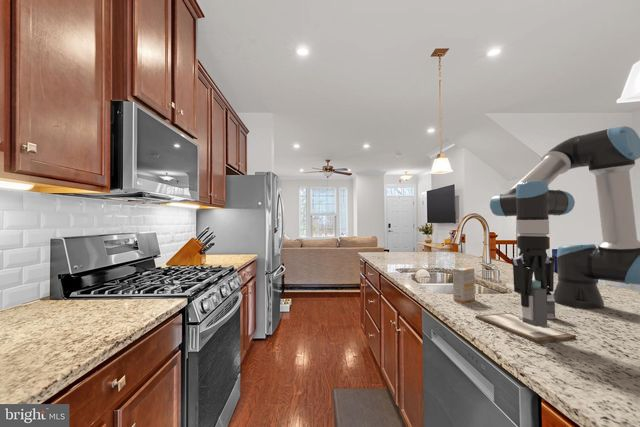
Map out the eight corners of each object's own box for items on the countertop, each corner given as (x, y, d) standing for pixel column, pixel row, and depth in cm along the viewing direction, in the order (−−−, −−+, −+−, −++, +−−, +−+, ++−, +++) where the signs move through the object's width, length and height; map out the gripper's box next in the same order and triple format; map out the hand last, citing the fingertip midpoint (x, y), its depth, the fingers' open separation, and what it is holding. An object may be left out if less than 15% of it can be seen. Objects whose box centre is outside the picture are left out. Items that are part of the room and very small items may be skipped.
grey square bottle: (533, 320, 87) (532, 279, 88) (547, 325, 83) (546, 282, 84) (522, 322, 86) (521, 280, 87) (535, 326, 82) (534, 282, 83)
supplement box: (464, 297, 128) (463, 266, 128) (475, 300, 124) (474, 268, 124) (452, 300, 124) (452, 268, 124) (463, 302, 119) (462, 269, 120)
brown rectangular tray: (507, 315, 103) (507, 310, 103) (575, 338, 82) (575, 333, 82) (475, 318, 100) (475, 313, 100) (538, 343, 79) (538, 338, 79)
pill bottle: (558, 319, 98) (557, 293, 99) (542, 318, 99) (541, 293, 100) (550, 315, 103) (549, 290, 103) (535, 314, 104) (534, 290, 104)
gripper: (543, 234, 92) (545, 312, 91) (497, 235, 87) (498, 316, 86) (569, 235, 84) (571, 319, 83) (520, 235, 80) (522, 324, 79)
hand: (534, 317), depth 85 cm, fingers closed on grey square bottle, 4 cm apart
